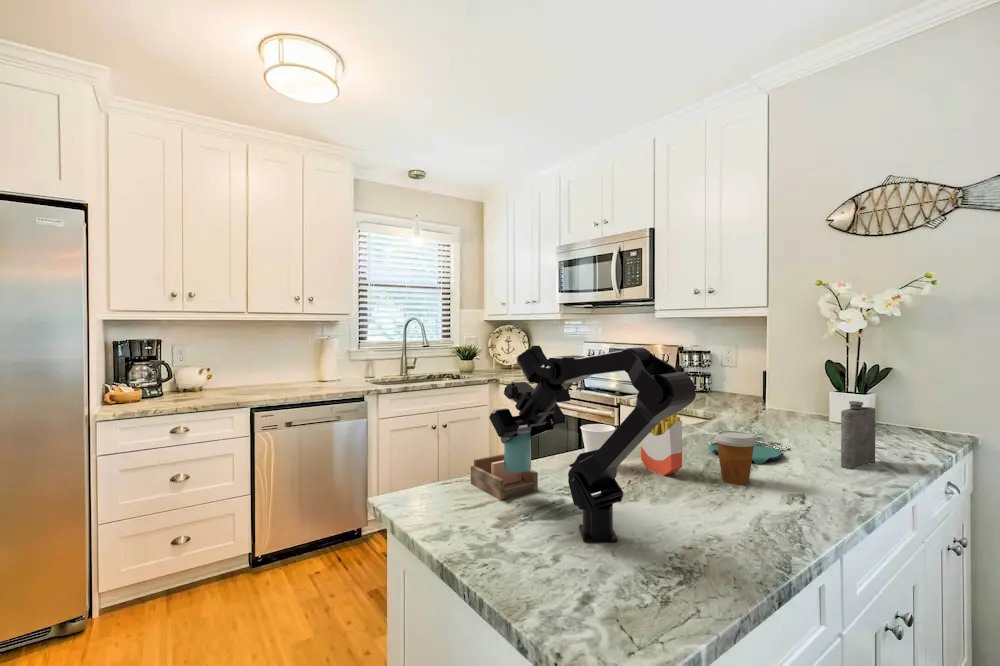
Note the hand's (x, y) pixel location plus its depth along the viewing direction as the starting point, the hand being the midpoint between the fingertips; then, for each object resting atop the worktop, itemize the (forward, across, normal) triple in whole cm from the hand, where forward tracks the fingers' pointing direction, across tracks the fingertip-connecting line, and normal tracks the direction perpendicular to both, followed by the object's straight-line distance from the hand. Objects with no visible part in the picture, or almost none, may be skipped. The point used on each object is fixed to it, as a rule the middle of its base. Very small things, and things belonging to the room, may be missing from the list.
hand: (513, 439), depth 113 cm
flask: (-18, -93, +38) cm, 102 cm away
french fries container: (+3, -43, +17) cm, 46 cm away
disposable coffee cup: (-8, -52, +28) cm, 60 cm away
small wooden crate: (+15, -1, +4) cm, 15 cm away
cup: (+13, -34, +6) cm, 36 cm away
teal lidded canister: (+4, 0, +6) cm, 7 cm away
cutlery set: (-1, -83, +21) cm, 86 cm away
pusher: (+12, -1, +5) cm, 13 cm away
